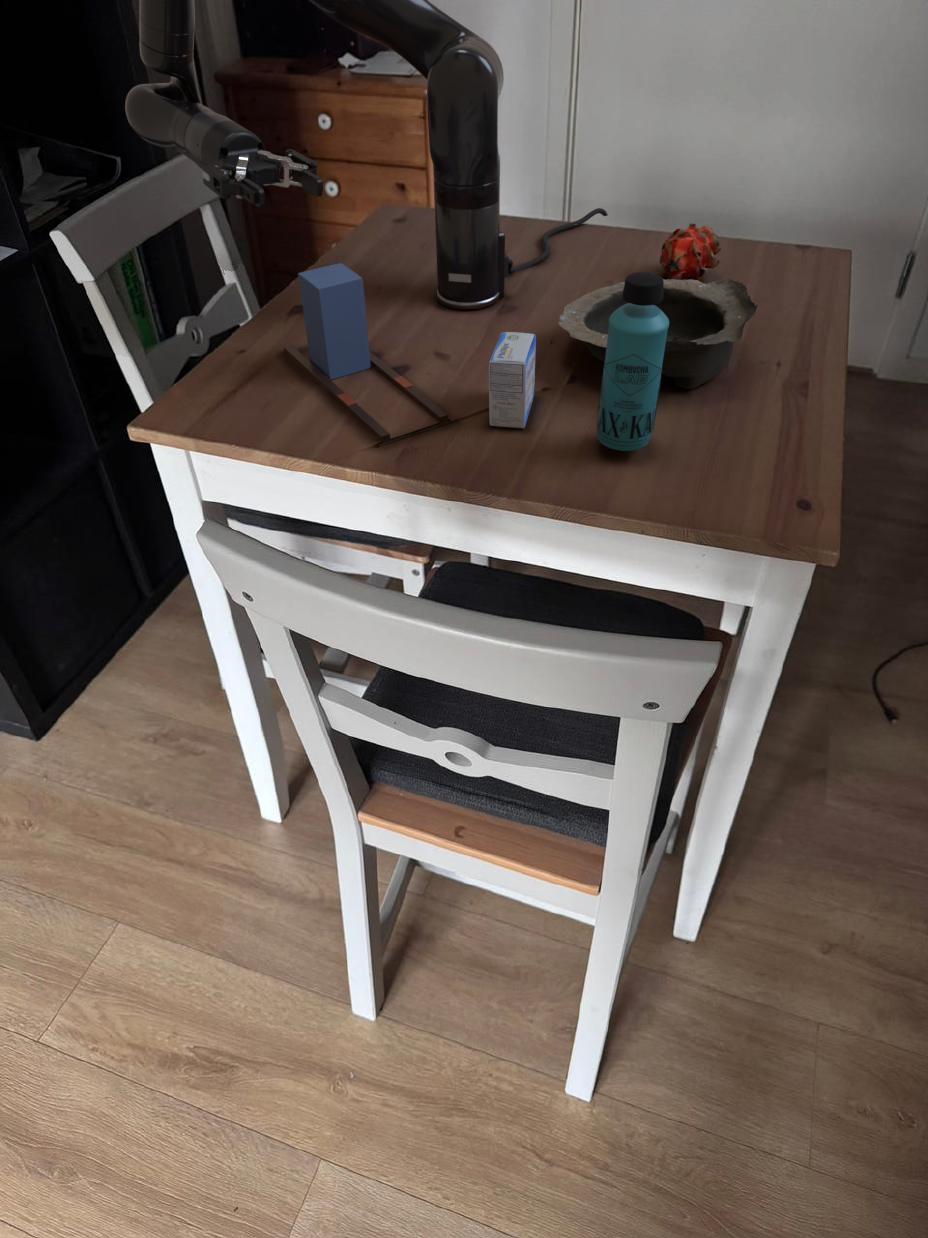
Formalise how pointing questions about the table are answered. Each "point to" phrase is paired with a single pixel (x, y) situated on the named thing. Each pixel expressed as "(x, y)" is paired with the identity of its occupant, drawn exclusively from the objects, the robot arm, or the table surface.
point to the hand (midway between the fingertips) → (291, 193)
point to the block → (335, 320)
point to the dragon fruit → (690, 253)
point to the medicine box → (512, 379)
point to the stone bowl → (673, 325)
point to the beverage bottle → (633, 365)
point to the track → (357, 410)
